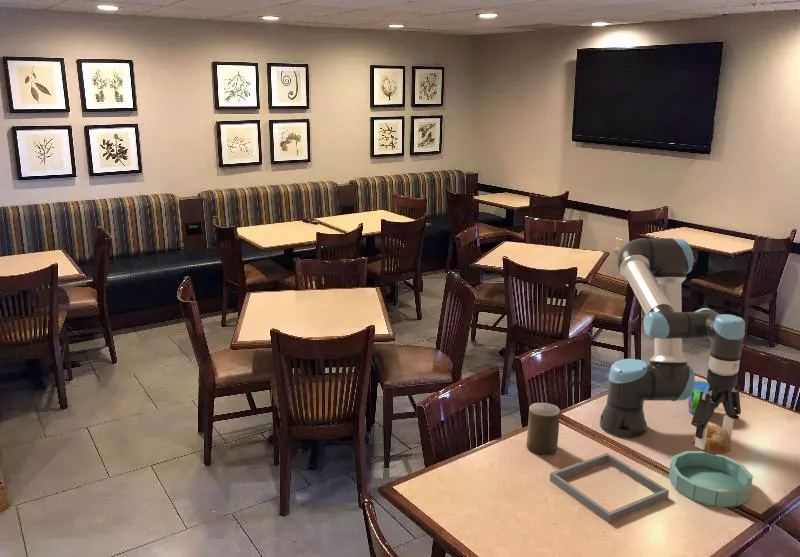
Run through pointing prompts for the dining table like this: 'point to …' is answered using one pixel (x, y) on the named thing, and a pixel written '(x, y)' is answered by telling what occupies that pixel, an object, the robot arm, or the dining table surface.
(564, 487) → the rectangular frame
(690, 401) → the snack cup
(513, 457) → the dining table surface
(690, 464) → the bowl
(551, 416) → the pillar candle
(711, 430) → the bread roll
